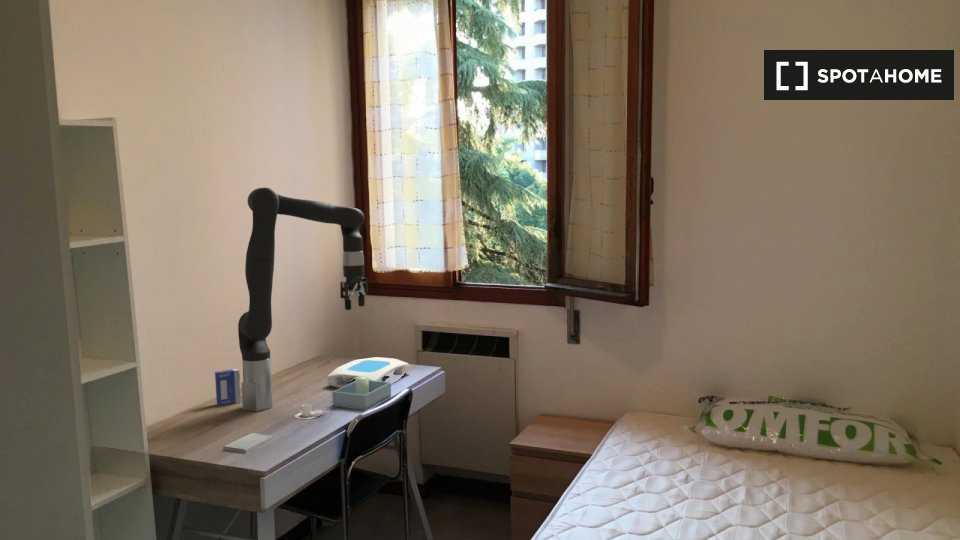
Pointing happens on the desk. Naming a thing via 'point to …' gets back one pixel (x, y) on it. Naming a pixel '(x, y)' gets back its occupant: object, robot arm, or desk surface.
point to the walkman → (227, 387)
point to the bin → (357, 401)
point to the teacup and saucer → (308, 412)
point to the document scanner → (366, 370)
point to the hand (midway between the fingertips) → (355, 308)
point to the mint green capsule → (362, 385)
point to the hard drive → (248, 443)
